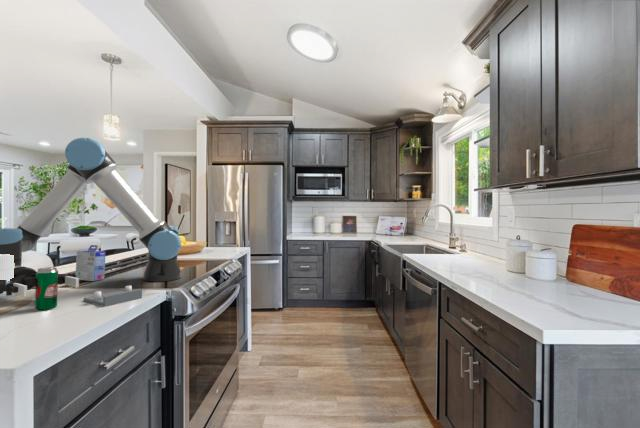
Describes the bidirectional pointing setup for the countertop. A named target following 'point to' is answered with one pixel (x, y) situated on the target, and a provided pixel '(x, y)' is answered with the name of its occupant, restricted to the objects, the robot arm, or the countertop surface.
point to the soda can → (46, 288)
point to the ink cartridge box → (90, 264)
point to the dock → (114, 297)
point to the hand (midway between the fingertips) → (53, 286)
